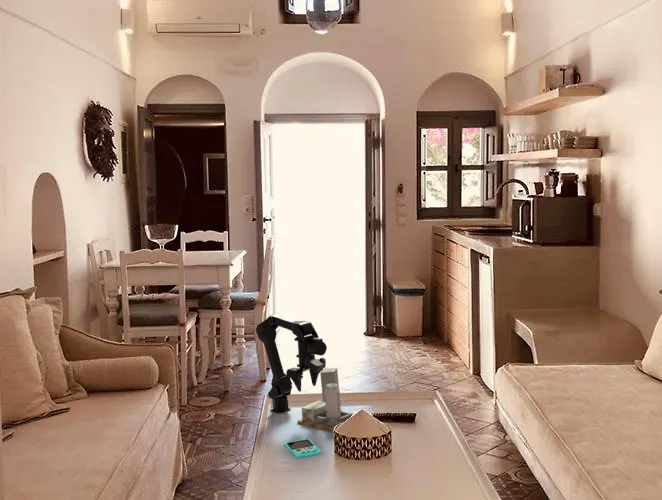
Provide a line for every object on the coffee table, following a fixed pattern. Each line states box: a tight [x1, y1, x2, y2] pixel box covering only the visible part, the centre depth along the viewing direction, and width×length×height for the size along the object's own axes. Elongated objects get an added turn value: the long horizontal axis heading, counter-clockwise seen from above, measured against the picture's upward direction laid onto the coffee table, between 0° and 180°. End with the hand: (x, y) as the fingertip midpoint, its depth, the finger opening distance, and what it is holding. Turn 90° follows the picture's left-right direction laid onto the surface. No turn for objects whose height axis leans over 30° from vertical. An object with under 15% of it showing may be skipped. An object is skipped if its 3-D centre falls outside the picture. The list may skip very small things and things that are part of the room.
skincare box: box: [319, 367, 340, 402], centre depth 326 cm, size 8×7×16 cm
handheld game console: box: [284, 438, 322, 459], centre depth 275 cm, size 10×16×1 cm, turn 20°
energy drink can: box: [325, 383, 342, 420], centre depth 301 cm, size 6×6×15 cm
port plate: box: [296, 400, 354, 433], centre depth 303 cm, size 20×16×6 cm
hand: (307, 388), depth 307 cm, fingers open, 9 cm apart
